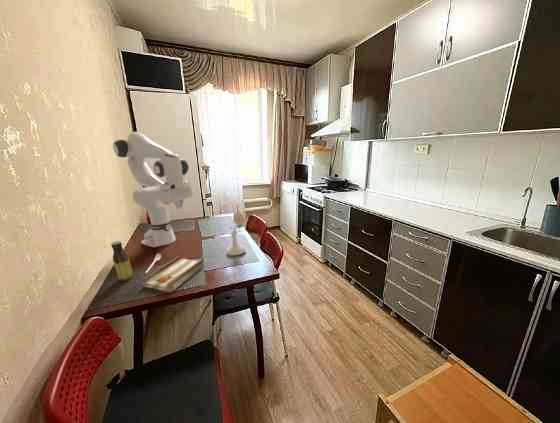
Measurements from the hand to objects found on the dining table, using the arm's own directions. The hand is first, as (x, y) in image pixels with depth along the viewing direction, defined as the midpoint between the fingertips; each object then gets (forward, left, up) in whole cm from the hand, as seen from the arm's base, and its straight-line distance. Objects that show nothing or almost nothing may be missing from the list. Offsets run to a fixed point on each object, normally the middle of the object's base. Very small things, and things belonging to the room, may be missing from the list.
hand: (180, 208), depth 131 cm
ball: (+10, -28, -27) cm, 40 cm away
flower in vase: (+28, +10, -29) cm, 42 cm away
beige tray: (+10, -21, -29) cm, 37 cm away
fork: (-12, -15, -30) cm, 35 cm away
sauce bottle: (-13, -30, -29) cm, 44 cm away
